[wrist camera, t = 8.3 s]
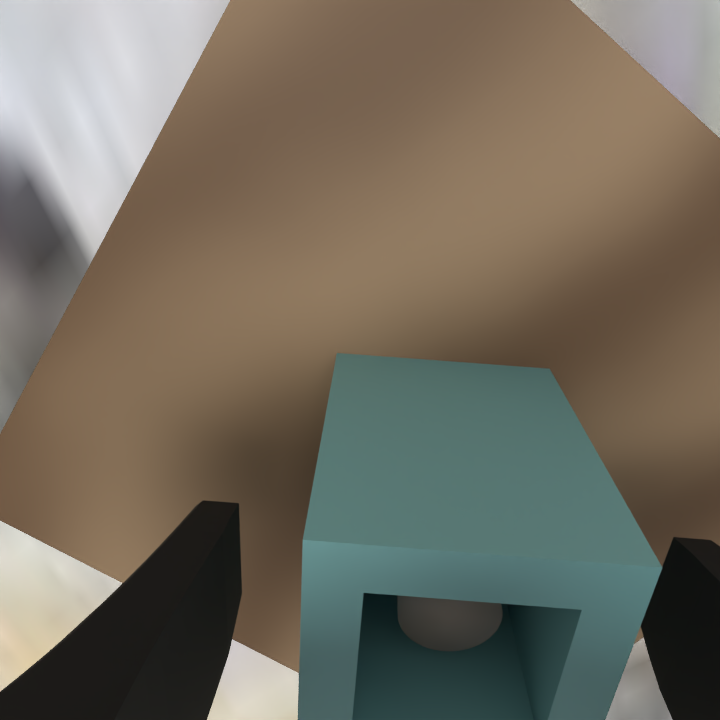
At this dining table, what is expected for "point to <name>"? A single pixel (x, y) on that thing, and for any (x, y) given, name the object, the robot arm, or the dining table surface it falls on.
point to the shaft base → (379, 282)
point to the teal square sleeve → (464, 548)
